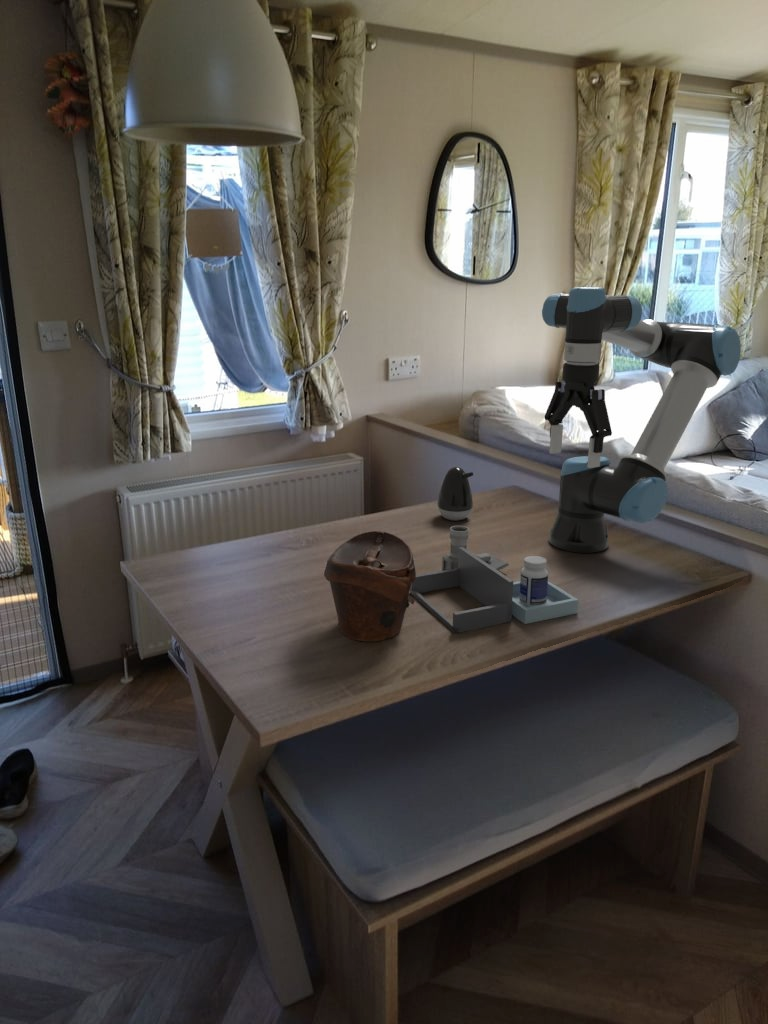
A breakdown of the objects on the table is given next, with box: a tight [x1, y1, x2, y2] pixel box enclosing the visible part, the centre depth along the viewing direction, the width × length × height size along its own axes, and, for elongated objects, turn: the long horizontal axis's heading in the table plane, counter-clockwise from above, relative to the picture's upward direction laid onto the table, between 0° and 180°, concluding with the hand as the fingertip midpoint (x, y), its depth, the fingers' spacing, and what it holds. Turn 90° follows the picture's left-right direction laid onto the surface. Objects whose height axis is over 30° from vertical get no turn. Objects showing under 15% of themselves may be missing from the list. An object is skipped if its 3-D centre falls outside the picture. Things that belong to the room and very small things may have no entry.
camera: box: [441, 525, 509, 572], centre depth 176 cm, size 9×12×15 cm
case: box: [323, 530, 417, 643], centre depth 147 cm, size 18×20×18 cm
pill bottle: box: [519, 555, 549, 607], centre depth 159 cm, size 6×6×10 cm
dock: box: [409, 547, 515, 634], centre depth 158 cm, size 21×13×9 cm, turn 23°
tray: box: [511, 580, 579, 625], centre depth 160 cm, size 13×13×3 cm
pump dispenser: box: [436, 466, 474, 521], centre depth 214 cm, size 10×10×15 cm
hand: (573, 459), depth 166 cm, fingers open, 13 cm apart
